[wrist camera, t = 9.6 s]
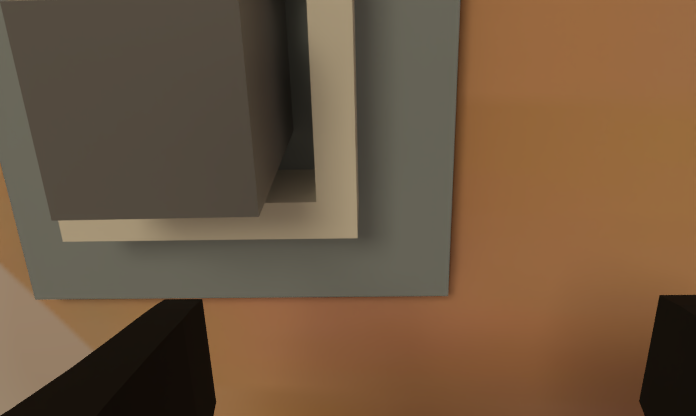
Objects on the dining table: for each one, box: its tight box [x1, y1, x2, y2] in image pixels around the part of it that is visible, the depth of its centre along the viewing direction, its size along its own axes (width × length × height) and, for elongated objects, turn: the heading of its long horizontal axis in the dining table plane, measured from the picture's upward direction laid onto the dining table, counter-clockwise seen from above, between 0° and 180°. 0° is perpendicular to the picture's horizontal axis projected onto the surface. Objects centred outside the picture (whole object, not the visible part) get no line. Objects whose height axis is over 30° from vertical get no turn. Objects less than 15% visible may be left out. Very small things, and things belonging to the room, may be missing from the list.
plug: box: [0, 0, 293, 221], centre depth 14 cm, size 4×4×6 cm
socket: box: [0, 0, 460, 299], centre depth 16 cm, size 13×14×4 cm
